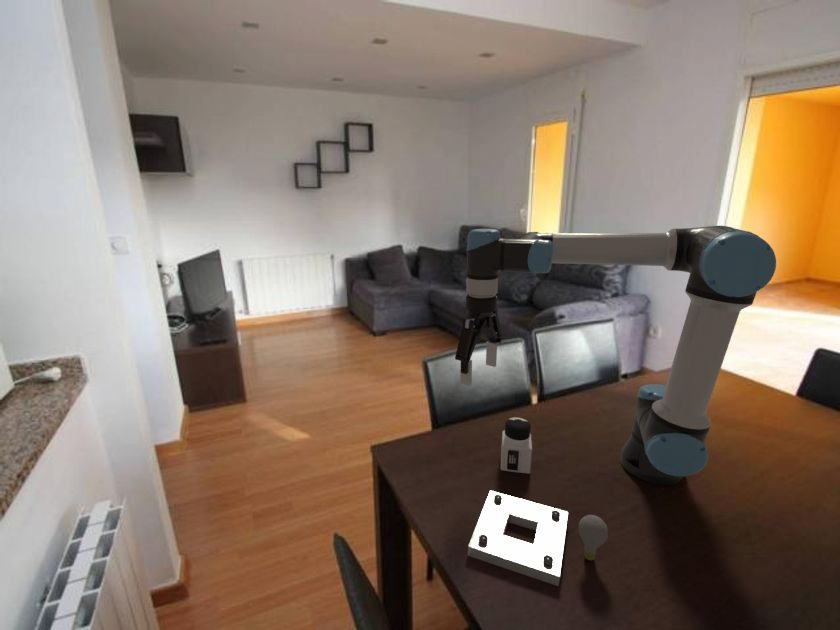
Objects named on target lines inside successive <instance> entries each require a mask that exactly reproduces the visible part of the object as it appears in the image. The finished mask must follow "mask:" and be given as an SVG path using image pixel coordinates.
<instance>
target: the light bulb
mask: <svg viewBox="0 0 840 630" xmlns="http://www.w3.org/2000/svg"><path fill="white" fill-rule="evenodd" d="M577 528H578V534H579V536H580V538H581V539H582V541H583V543H584V547H583V549H584V552H583V556H584V558H585V559H586V560H587V561H594V560H595V559H596V553H597V549H598V548H599V547H601V546H602V545H604V543H605V542H606V541H607V539H608V536H609V530H608V529H609V528H608V526H607V524H606V522H605V521H604V520H603V519H602V518H601V517H600V516H597V515H595V514H587V515H584V516H583V517H582V518H581V519H580V521H579V523H578V527H577Z"/></svg>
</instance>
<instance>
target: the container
mask: <svg viewBox="0 0 840 630" xmlns="http://www.w3.org/2000/svg"><path fill="white" fill-rule="evenodd" d="M504 424H505V425H504V430H502V433H501V451H500V470H501V471H505V472H510V473H511V472H512V473H520V474H531V469H532V468H531V467H532V455H533V441H532V433H531V429H532V428H531V423H530V422H529V421H528V420H526V419H525V418H522V417H510V418H508V419H507V420H505V423H504Z"/></svg>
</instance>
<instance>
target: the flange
mask: <svg viewBox="0 0 840 630" xmlns="http://www.w3.org/2000/svg"><path fill="white" fill-rule="evenodd" d="M568 517H569V511H568V510H563V509H560V508H556V507H555V508H554V507H552V506H548V505H544V504H541V503H536V502H533V501H530V500H527V499H523V498H519V497H515V496H511V495H508V494H504V493H500V492H497V491H494V490H489V493H488V496H487V498H486V500H485V503H484V505H483V508H482V510H481V513H480V516H479V518H478V521H477V523H476V526H475V527H474V530H473V533H472V536H471V539H470V541H469V543H468V545H467V556H468V557H470V558H473V559H476V560H479V561H482V562H486V563H489V564H491V565H495V566H497V567H500V568H503V569H505V570H506V569H507V570H509V571H512V572H515V573H518V574H520V575H521V574H522V575H523V576H527V577H529V578H533V579H536V580H538V581H542V582H544V583H546V584H547V583H548V584H550V585H553V586H556V587H559V586H560V580H561V570H562V563H563V557H564V556H563V555H564V549H565V548H564V547H565V542H566V541H565V540H566V534H567V533H566V532H567V527H568V526H567V524H568ZM509 524H513V525H516V526H520V527H523V528H527V529H529V530H533V531H535V532H536V533H535V536H534V537H535V538H534V541H533V543H530V542H527V541H524V540H521V539H518V538H514V537H511V536H508V535H506V532H507V531H506V530H507V528H508V525H509Z"/></svg>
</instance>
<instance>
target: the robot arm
mask: <svg viewBox="0 0 840 630" xmlns="http://www.w3.org/2000/svg"><path fill="white" fill-rule="evenodd" d="M466 242H467V244H466V279H465V283H466V284H465V285H466V286H465V287H466V289H465V292H466V296H465V309H466V311H468V312H469V313H470V316H469V319H467V318H463V319H462V325H461V326H462V327H461V331H460V332H461V333H460V335H459V336H460V337H459V340H458V345H457V349H456V353H455V357H454V359H455V360H456V361H459V362H460V370H459V371H460V377H459V378H460V381H459V384H462V385H465V386H468V387H471V386H472V383H473V382H472V381H473V380H472V378H473V376H472V375H473V359H472V356H473V352H474V350H475V348H476V345H477V341H478V339H479V338H480V337H481V336H482V334H483V332H484V334H485V336H486V339H487V340H488V341H486V352H485V354H486V355H485V357H486V358H485V366H490V367H493V368H496V367H497V360H498V359H497V356H498V354H497V353H498V344H501V342H502V331H501V326H500V322H499V316H498V295H497V294H498V290H499V289H498V287H499V272H510V273H512V272H513V273H526V274H533V275H537V274H548V273H550V272H551V269H552V264H566V265H568V264H570V265H572V264H573V265H605V266H606V265H609V266H610V265H611V266H612V265H613V266H615V265H616V266H647V267H648V266H650V267H651V266H652V267H664V269H665V270H667V271H669V272H670V271H673V272H684V273H688V274H689V277H688V280H687V284H686V287H685V293H686V294H687V296H688V297H689V299H690V303H689V307H688V310H687V313H686V316H685V320H684V323H683V326H682V329H681V333H680V337H679V341H678V343H677V347H676V350H675V354H674V357H673V360H672V363H671V368H670V370H669V375H668V378H667V381H666V384H665V385H664V384H657V383H656V384H654V383H651V384H650V383H649V384H644V385H641V386H640V387H639V390H638V393H637V395H636V405H635V411H634V416H633V417H634V418H633V422H632V428H631V429H632V430H631V435H630V437H629V438H628V439H627V441H626V443H625V444H624V445H623V447H622V449H621V453H620V458H619V460H620V463H621V465H622V467H623V468H624V469H625V470H626V471H627V472H628V473H629V474H631V475H632V476H634V477H636V478H637V479H640V480H642V481H645V482H647V483H650V484H655V485H656V484H657V485H660V486H661V485H664V486H671V485H675V484H679V483H680V482H682V480H683V478H684V477H688V476H690V475H695V474H697V473H699V472H700V471H703V469H704V468H705V467H706V466H707V464H708V462H709V450H708V448H707V445H706V439H707V437H708V434H709V432H710V428H711V425H712V421H711V418H710V417H709V415H708V414H707V411H708V408H709V404H710V402H711V399H712V395H713V394H714V393H713V392H714V389H715V387H716V383H717V380H718V377H719V375H720V372H721V369H722V366H723V363H724V359H725V357H726V354H727V351H728V348H729V345H730V342H731V339H732V336H733V333H734V330H735V329H736V328H735V327H736V324H737V321H738V318H739V315H740V313H741V311H742V310H743V309H745V308H748V307H750V306H752V305H753V304H754V302H755V301H754V300H755V298H756V296H757V294H758V293H757V292H759V291H760V290H762V289H763V288H765V287H767V285H768V284H769V283H770V282H771V281H772V278H773V276H774V275H775V271H776V268H777V258H776V254H775V251H774V249H773V248H772V246H771V245H770V244H769V242H767V241H766V240H765V239H764V238H762V237H761V236H759V235H758V234H756V233H753V232H752V231H747V230H743V229H738V228H735V227H731V226H728V225H712V226H711V225H709V226H708V225H707V226H701V227H688V228H687V227H686V228H670V230H668V231H667V232H635V233H634V232H628V233H627V232H624V233H623V232H620V233H619V232H609V233H608V232H591V233H590V232H589V233H588V232H585V233H584V232H573V233H572V232H564V233H562V232H560V233H559V232H552V233H548V232H542V233H541V232H538V231H529V232H526V233H524V234H523V235H521V236H520V237H519V238H504V237H502V238H501V231H499V230H498V229H496V228H495V229H494V228H476V229H472V230H470V231H469V232H468V234H467V241H466Z"/></svg>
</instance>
